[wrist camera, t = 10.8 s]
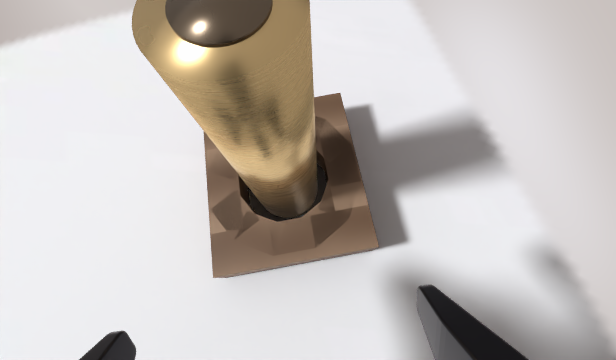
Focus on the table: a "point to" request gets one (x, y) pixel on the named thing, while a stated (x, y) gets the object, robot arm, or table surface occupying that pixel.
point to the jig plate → (300, 231)
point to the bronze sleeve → (243, 86)
